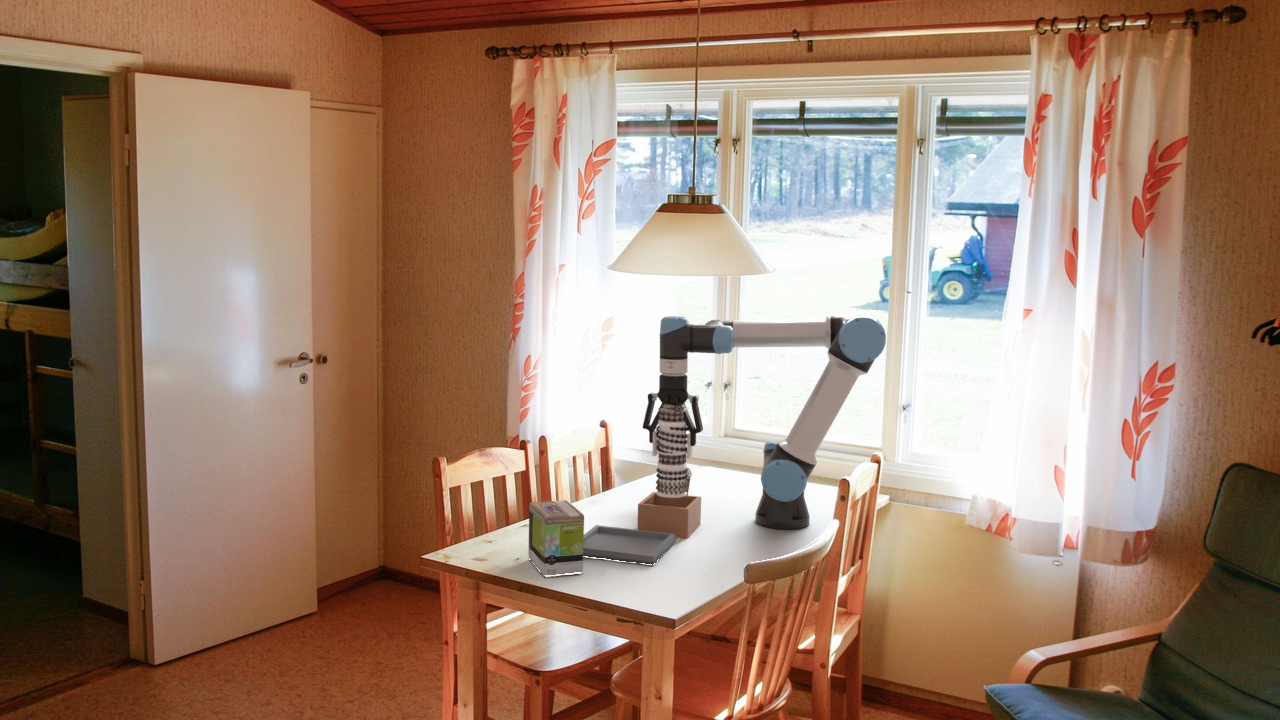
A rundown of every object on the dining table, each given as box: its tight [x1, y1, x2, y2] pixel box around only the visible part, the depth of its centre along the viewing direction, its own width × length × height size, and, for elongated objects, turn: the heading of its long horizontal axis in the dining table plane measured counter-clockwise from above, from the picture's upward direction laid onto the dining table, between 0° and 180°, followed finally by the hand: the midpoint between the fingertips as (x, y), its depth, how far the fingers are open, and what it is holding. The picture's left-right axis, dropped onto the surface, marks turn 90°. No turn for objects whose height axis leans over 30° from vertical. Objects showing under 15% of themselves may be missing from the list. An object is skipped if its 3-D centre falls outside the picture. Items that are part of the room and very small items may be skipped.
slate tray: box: [583, 524, 676, 565], centre depth 266 cm, size 22×20×2 cm
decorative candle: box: [655, 404, 689, 498], centre depth 282 cm, size 9×9×25 cm
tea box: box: [528, 499, 585, 575], centre depth 250 cm, size 15×10×15 cm, turn 21°
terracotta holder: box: [636, 491, 702, 539], centre depth 284 cm, size 14×14×8 cm
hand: (672, 456), depth 282 cm, fingers closed on decorative candle, 9 cm apart
